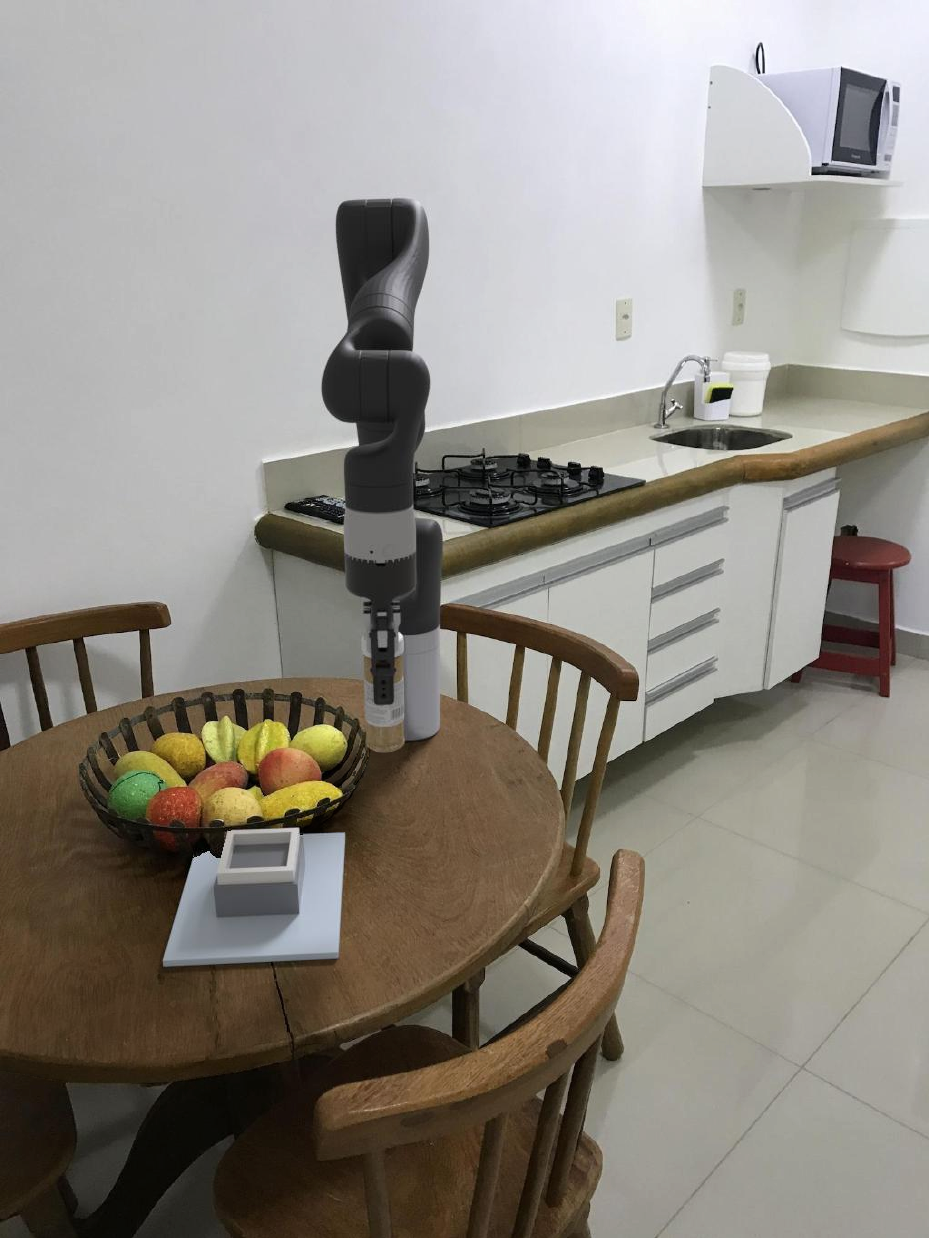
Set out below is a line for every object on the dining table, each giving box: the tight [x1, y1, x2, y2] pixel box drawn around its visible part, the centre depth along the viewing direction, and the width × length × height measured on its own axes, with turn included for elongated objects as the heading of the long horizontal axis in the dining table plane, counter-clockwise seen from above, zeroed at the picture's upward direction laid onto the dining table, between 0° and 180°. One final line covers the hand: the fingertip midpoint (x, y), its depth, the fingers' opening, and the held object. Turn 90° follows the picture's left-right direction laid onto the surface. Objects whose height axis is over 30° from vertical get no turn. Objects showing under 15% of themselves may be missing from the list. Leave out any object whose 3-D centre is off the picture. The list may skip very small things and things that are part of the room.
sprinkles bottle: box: [361, 632, 405, 753], centre depth 109 cm, size 5×5×13 cm
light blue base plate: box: [162, 827, 346, 968], centre depth 111 cm, size 22×18×6 cm
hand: (383, 692), depth 109 cm, fingers closed on sprinkles bottle, 4 cm apart
